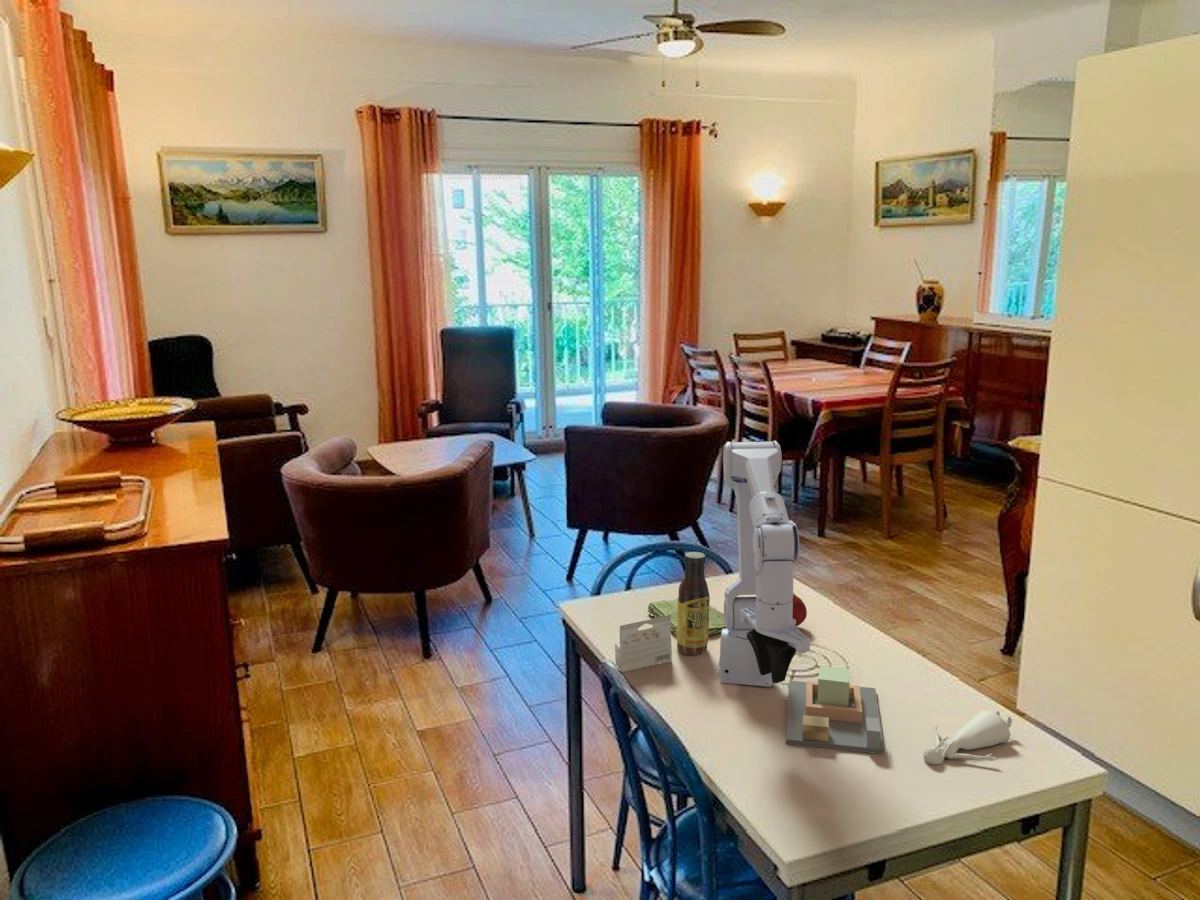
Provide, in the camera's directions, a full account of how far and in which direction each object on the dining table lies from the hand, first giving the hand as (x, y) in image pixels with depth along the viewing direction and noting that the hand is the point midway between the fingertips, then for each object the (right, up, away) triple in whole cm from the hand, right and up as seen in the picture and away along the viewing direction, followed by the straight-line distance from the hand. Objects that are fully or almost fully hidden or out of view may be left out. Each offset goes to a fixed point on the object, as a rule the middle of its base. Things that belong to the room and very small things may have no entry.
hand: (772, 677), depth 140 cm
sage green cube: (+12, -7, +9) cm, 17 cm away
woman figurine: (+30, -11, -2) cm, 32 cm away
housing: (+12, -9, +8) cm, 17 cm away
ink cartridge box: (-19, -5, +28) cm, 34 cm away
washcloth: (-8, -1, +47) cm, 48 cm away
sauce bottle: (-9, -3, +34) cm, 35 cm away
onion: (+12, -1, +43) cm, 44 cm away
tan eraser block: (+7, -10, +1) cm, 13 cm away
